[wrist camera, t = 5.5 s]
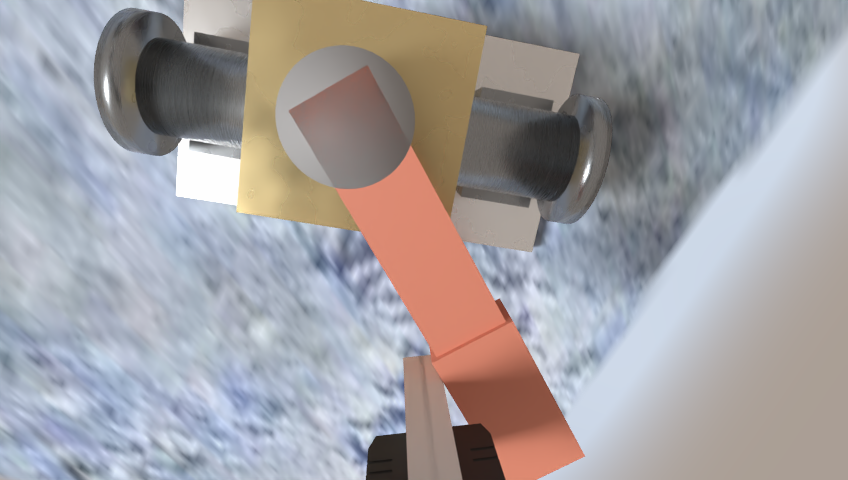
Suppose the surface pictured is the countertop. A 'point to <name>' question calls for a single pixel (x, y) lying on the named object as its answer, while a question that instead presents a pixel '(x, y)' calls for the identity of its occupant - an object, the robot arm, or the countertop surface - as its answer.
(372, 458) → the robot arm
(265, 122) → the valve
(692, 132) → the countertop surface
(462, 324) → the lever
